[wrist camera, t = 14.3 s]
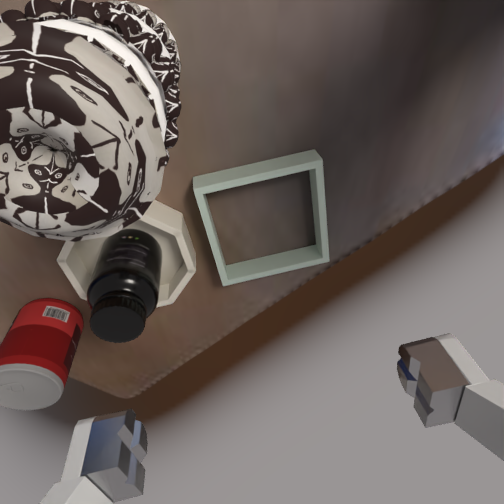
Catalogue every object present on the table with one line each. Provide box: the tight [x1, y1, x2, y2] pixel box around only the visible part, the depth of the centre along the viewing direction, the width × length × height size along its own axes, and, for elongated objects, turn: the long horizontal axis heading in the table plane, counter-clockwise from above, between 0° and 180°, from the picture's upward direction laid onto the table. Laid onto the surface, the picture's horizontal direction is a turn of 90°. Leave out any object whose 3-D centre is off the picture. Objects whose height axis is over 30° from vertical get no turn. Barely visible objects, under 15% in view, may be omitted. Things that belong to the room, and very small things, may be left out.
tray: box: [193, 149, 330, 286], centre depth 43 cm, size 14×14×3 cm
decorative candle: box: [0, 0, 181, 242], centre depth 22 cm, size 9×9×25 cm
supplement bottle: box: [87, 229, 162, 343], centre depth 38 cm, size 7×7×12 cm
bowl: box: [56, 200, 196, 307], centre depth 42 cm, size 14×14×4 cm
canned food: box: [0, 298, 83, 410], centre depth 44 cm, size 8×8×11 cm
